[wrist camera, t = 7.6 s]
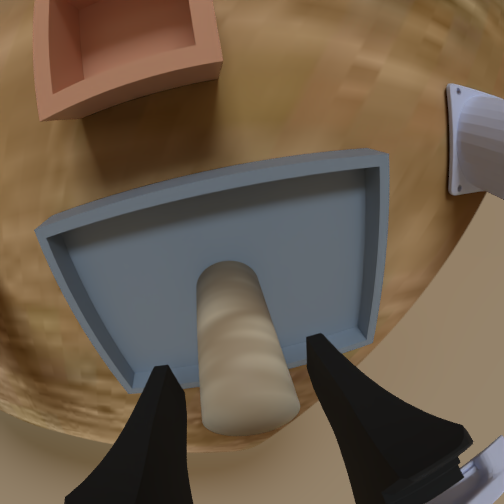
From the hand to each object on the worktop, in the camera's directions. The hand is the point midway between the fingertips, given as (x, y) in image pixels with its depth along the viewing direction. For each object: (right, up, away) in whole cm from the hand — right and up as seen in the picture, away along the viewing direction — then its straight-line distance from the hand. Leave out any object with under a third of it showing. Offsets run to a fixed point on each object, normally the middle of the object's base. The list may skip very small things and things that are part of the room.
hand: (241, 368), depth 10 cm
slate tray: (-1, +3, +6) cm, 6 cm away
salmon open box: (-5, +15, -1) cm, 16 cm away
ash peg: (-1, +3, +5) cm, 6 cm away
